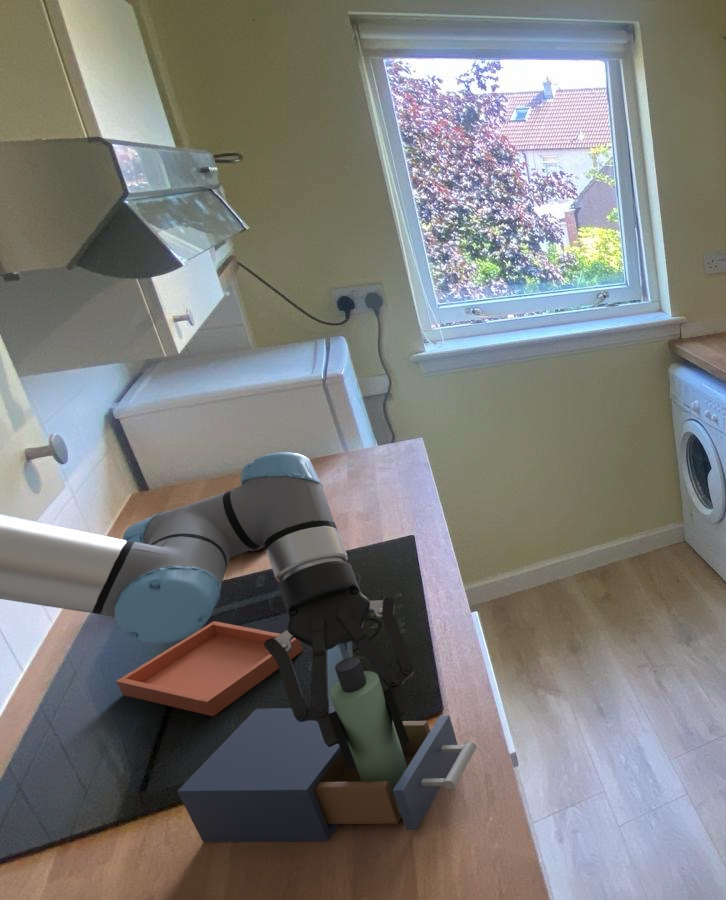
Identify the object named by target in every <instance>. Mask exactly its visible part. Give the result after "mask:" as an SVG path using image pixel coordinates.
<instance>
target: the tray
mask: <svg viewBox="0 0 726 900" xmlns="http://www.w3.org/2000/svg"><path fill="white" fill-rule="evenodd" d="M280 634H281V633H279V632H278V633H277V632H272V631H268V630H267V631H266V630H261V629H256V628H253V627H247V626H243V625H242V626H241V625H235V624H231V623H225V622H220V621H216V620H214V621H212V622H210V623H208V624H206V625H204V626H203V627H202V628H201V629H199V630H198V631H197V632H195V633H194V634H192V635H190V636H189V637H186V638H184V639H181V640H180V641H179V642H177V643H175V644H174V645H173V646H171V647H169V648H168V649H166V650H164V651H163V652H161V653H160V654H158V655H156V656H155V657H153V658H151V659H150V660H149V661H146V662H145V663H143V664H141V665H139V666H138V667H137V668H135V669H133V670H132V671H130V672H128V673H126V674H125V675H123V676H122V677H120V678H118V679H117V680H116V682H115V683H116V685H117V687H118V688H119V691H120V692H121V694H122V695H123V696H125V697H129V698H134V699H138V700H143V701H147V702H151V703H156V704H159V705H163V706H167V707H171V708H176V709H179V710H185V711H189V712H193V713H196V714H197V713H198V714H201V715H206V716H210V717H215V716H216V715H217V714H219V713H220V712H221V711H223V710H224V709H225V708H227V707H229V706H230V705H231V704H232V703H233V702H235V701H237V700H238V699H239V698H240V697H242V696H243V695H245V694H246V693H248V692H249V691H250V690H251V689H253V688H254V687H255V686H257V685H258V684H260V683H261V682H262V681H264V680H266V678H268V677H269V676H271V675H272V674H273V673H275V672H276V671H278V670H279V668H278V665H277V662H276V660H275V659H274V658H273V657H272V656H271V655H270V654H269V652H268V651H267V650H266V648H265V646H264V643H265V641H266V640H268V639H271V638H273V639H274V638H276V637H277V636H279V635H280ZM291 646H292V650H291V651H290V652H289V653H288V655H289V657H290V659H291V660H293V659H294V658H295V657H296V656H298V655H300V654H301V653H302V652H303V651H304V648H303V646H302V643H301V641H299V640H297V639H296V638H293V639H292V640H291Z"/></svg>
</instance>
